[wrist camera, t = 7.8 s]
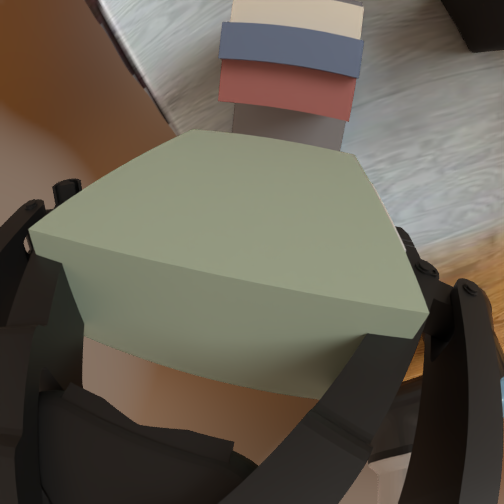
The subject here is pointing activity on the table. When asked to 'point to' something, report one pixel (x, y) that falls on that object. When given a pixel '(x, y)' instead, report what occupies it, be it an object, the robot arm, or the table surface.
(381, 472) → the robot arm
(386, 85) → the table surface
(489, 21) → the bookend
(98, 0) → the table surface
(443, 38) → the table surface
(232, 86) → the book shelf
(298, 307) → the loose book
